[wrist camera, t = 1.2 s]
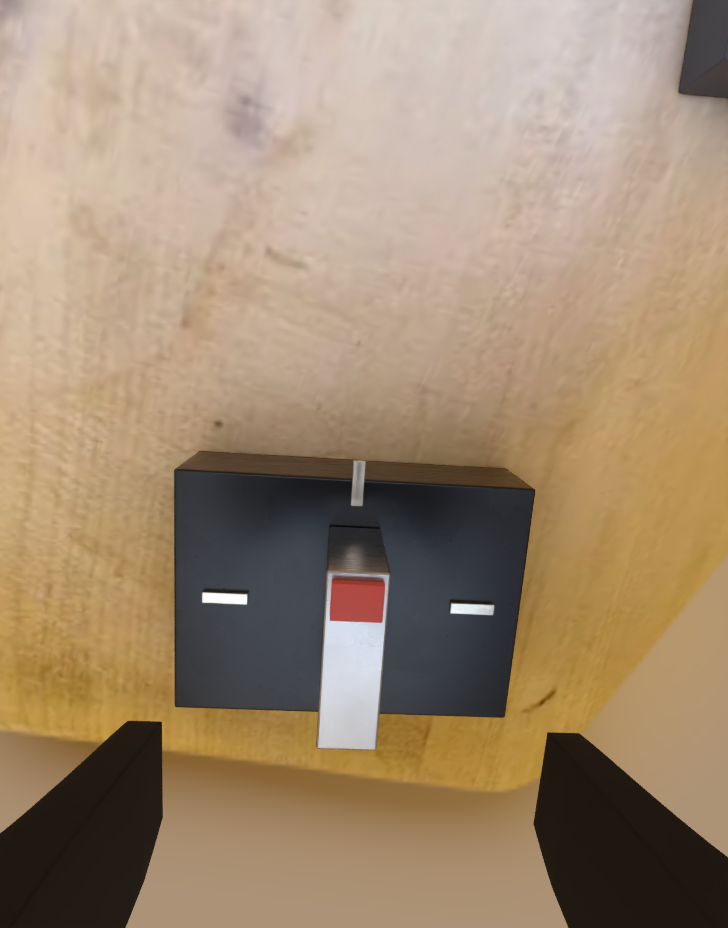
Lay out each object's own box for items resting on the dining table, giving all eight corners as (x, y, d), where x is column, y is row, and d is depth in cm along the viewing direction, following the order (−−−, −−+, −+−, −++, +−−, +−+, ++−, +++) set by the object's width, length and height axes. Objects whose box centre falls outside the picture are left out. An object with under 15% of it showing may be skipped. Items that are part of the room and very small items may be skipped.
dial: (369, 674, 18) (377, 758, 14) (320, 672, 18) (315, 756, 14) (381, 528, 17) (392, 577, 13) (329, 525, 17) (325, 574, 13)
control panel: (481, 681, 22) (504, 737, 18) (197, 671, 21) (172, 727, 18) (509, 452, 20) (540, 471, 17) (199, 433, 19) (171, 449, 16)
